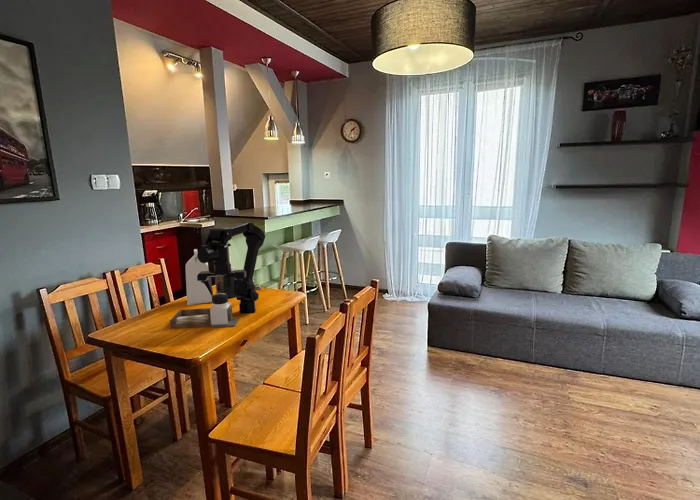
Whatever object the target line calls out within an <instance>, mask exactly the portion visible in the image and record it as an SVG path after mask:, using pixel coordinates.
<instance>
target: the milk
mask: <svg viewBox="0 0 700 500" xmlns="http://www.w3.org/2000/svg"><path fill="white" fill-rule="evenodd" d="M197 254H198V248H194V249H193V256H192V257H191V258H189V260H188V261H187V262H186V263H185V283H186V284H185V285H186V287H185V288H186V303H187V304H186V305H187V306H191V305H198V304H208V303H213V299H212V297H213V296H211V294H210V292H209V290H208V289H207V287H206V286H205V284H204V283H201V281H197V275H198V274H199V273H200V272H201V271H210V270H209V262H207V263H201V262H200V261H199V260H198V258H197Z"/></svg>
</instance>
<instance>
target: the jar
mask: <svg viewBox="0 0 700 500" xmlns="http://www.w3.org/2000/svg"><path fill="white" fill-rule="evenodd" d="M236 270H237V269H236V267H235V266H234V265H231V272H235V271H236ZM214 279H215V280H214V281H215V293H216V294H220V293H223V294H227V295H228V298H236V296H235V295H234V280H235V277H216V278H214ZM216 294H215V295H216Z"/></svg>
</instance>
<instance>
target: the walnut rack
mask: <svg viewBox="0 0 700 500" xmlns="http://www.w3.org/2000/svg"><path fill="white" fill-rule="evenodd" d="M210 309H211V307H208V308H207V307H202V308H201V307H200V308H187V309H186V308H185V309H183V308H182V309H179V310H178V311H177V312H176V313H175V314H174V315H173V316H172V318H171V319H170V320H169V322H170V329H185V328H199V327H201V328H202V327H211V326H212V327H213V325H211V316H210ZM206 314H208V319H207V320H208V322H200V323H183V324H176V322H177V318H178V317H184V316H195V315H206Z"/></svg>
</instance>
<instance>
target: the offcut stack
mask: <svg viewBox="0 0 700 500" xmlns="http://www.w3.org/2000/svg"><path fill="white" fill-rule="evenodd" d="M208 318H209V316H208V314H206V315H195V316H184V317H178V318H177V322H176V324H183V323H200V322H208Z"/></svg>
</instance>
